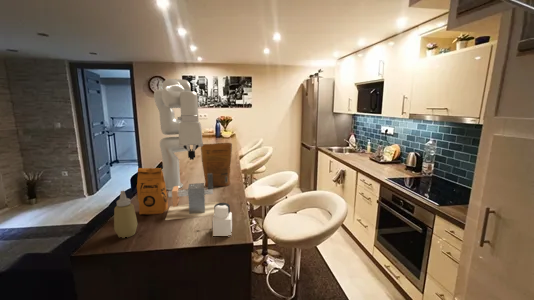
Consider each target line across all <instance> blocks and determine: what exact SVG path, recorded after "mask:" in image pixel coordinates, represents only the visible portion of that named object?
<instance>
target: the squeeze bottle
mask: <svg viewBox="0 0 534 300" xmlns="http://www.w3.org/2000/svg"><path fill="white" fill-rule="evenodd" d="M113 210H114V212H113V213H114V214H113V230H114V232H115V234H116V235H117V237H118V238H120V237H122V238H121V239H126V238H125V237H127V238H131V237H132V236H134V235H135V234H136V231H137V227H138V219H137V215H136V210H135V205H134V204H133V203H132V201H131V198H128V197H127V195H126V191H125V190H121V191H120V196H119V199H118V200H116V206H115V207H114V209H113Z"/></svg>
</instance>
